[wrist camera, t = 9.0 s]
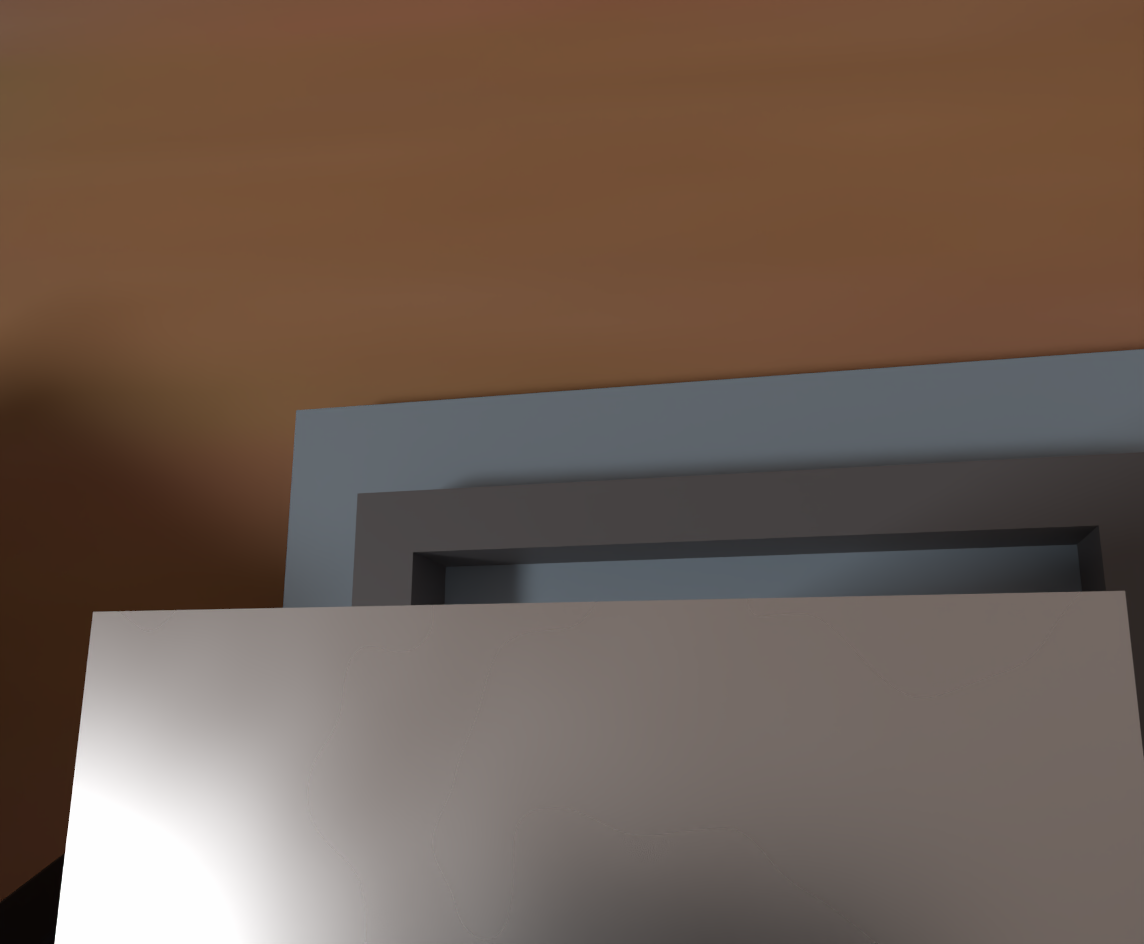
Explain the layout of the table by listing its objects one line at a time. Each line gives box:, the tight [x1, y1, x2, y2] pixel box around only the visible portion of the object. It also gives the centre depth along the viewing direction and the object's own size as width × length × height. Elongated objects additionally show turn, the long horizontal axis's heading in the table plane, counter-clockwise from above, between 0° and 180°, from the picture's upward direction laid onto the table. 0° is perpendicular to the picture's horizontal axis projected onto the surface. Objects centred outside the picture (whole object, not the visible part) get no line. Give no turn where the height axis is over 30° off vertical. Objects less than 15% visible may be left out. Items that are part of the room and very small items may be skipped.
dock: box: [283, 349, 1144, 756], centre depth 16 cm, size 16×16×3 cm
